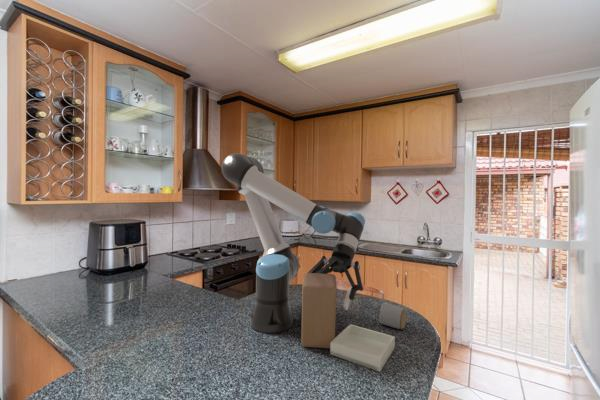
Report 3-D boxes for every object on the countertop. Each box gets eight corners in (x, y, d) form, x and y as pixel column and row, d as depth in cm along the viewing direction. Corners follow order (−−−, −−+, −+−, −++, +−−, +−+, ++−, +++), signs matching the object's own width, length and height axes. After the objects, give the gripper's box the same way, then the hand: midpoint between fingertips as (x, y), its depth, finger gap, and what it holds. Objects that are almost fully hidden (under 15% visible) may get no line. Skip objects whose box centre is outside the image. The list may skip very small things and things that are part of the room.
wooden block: (333, 329, 95) (335, 273, 92) (334, 350, 86) (336, 288, 82) (303, 327, 96) (304, 271, 92) (301, 348, 86) (302, 286, 83)
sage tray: (330, 354, 83) (330, 342, 83) (349, 334, 96) (350, 324, 96) (380, 371, 75) (380, 358, 75) (394, 348, 88) (394, 336, 88)
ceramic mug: (401, 333, 97) (402, 310, 97) (378, 326, 102) (379, 305, 102) (409, 323, 106) (410, 302, 106) (387, 317, 111) (388, 297, 111)
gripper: (381, 260, 100) (365, 318, 87) (317, 250, 113) (296, 300, 100) (377, 247, 95) (360, 306, 83) (311, 239, 108) (288, 289, 96)
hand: (325, 303), depth 91 cm, fingers open, 13 cm apart
